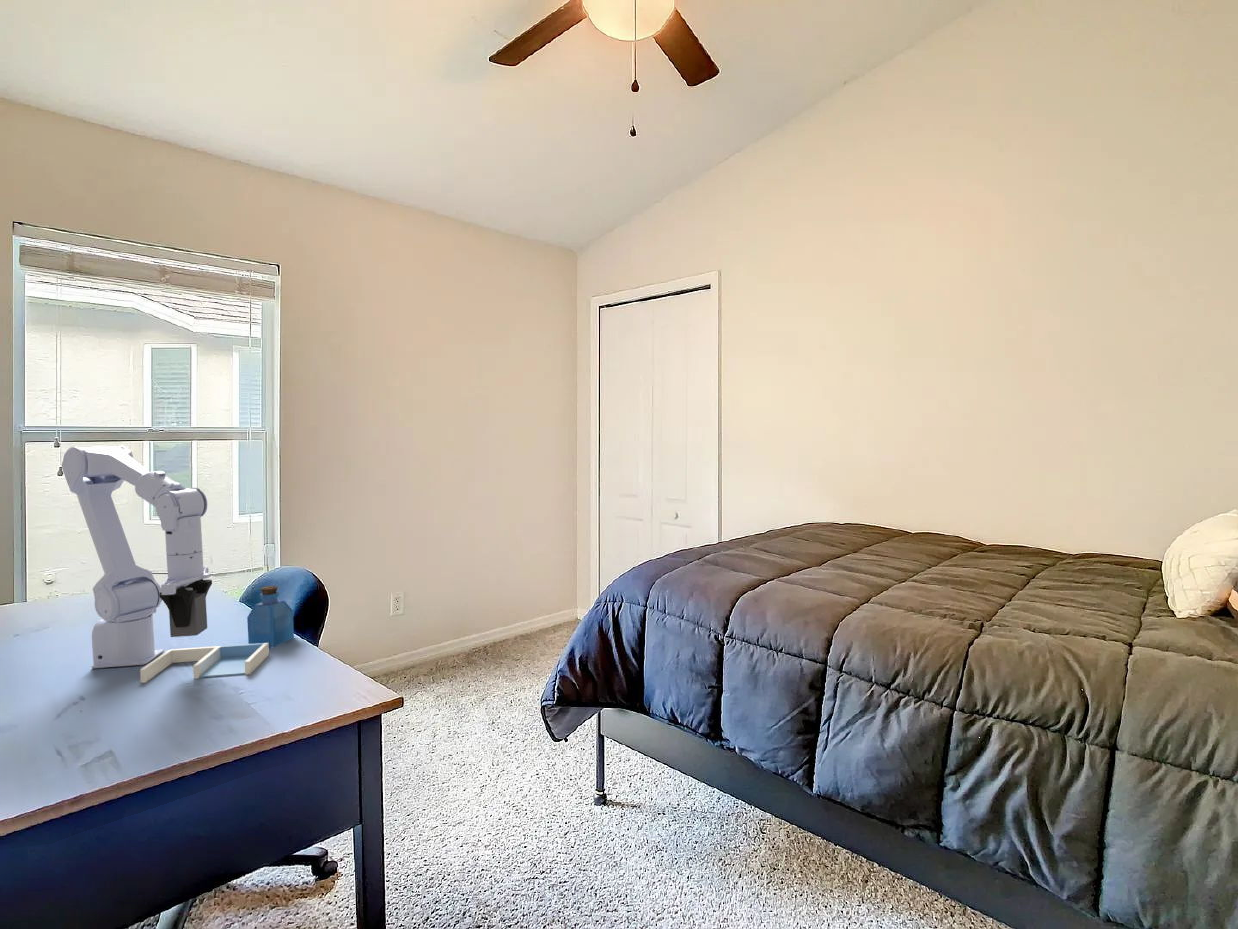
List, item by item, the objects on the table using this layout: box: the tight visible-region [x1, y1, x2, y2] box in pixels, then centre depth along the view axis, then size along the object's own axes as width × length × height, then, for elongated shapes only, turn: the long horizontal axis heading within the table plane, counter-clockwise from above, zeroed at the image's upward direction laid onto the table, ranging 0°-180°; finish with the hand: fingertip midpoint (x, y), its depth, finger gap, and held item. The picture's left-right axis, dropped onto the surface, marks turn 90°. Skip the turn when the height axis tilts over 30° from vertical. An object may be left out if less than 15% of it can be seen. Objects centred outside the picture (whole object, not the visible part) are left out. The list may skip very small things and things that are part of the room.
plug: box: [168, 588, 208, 638], centre depth 124 cm, size 4×4×8 cm
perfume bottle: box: [246, 585, 295, 648], centre depth 141 cm, size 6×6×12 cm
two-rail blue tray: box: [139, 643, 270, 684], centre depth 126 cm, size 18×11×2 cm, turn 101°
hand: (188, 622), depth 124 cm, fingers closed on plug, 4 cm apart
